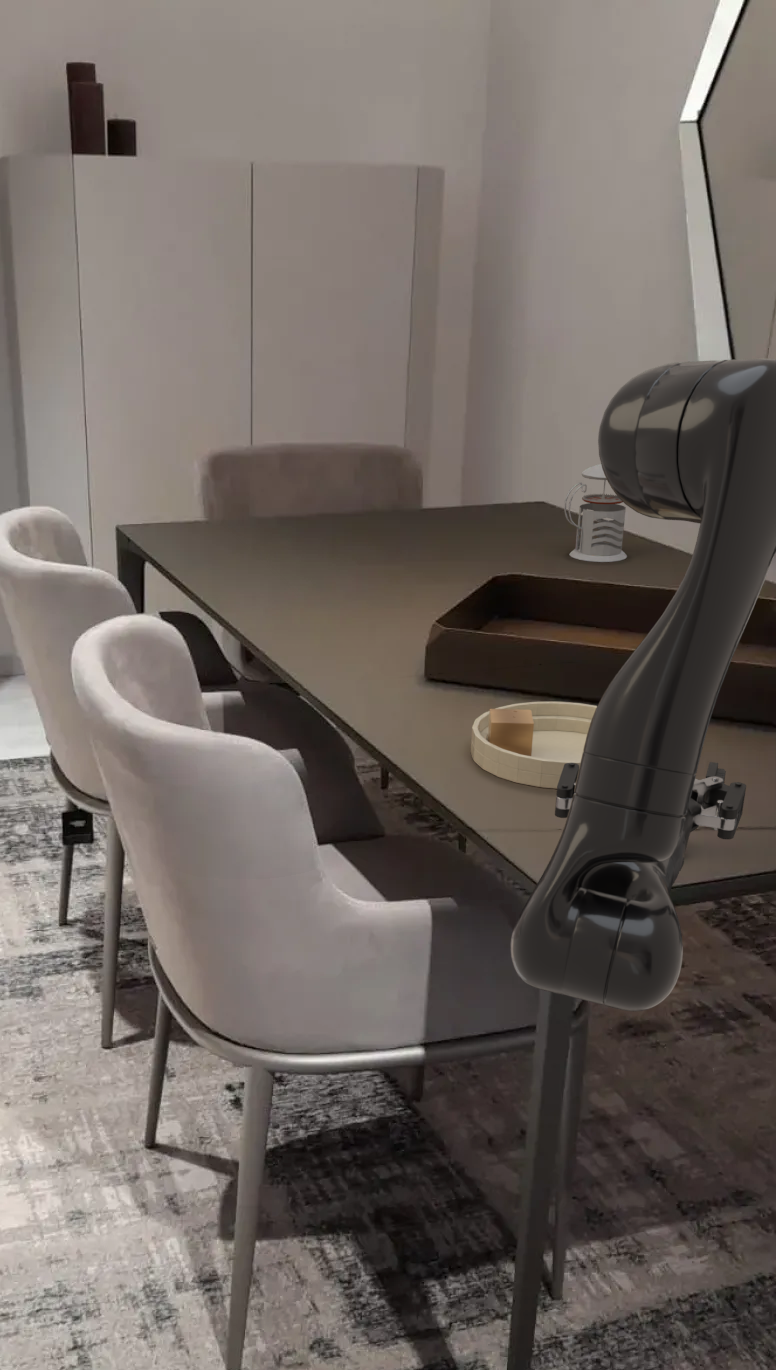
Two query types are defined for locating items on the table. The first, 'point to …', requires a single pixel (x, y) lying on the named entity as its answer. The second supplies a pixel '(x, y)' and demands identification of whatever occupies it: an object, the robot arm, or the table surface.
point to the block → (511, 730)
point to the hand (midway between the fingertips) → (659, 766)
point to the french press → (601, 509)
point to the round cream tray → (536, 743)
